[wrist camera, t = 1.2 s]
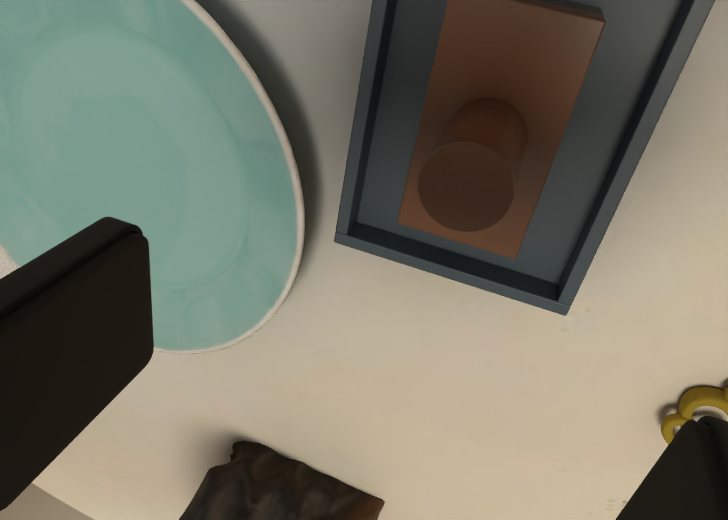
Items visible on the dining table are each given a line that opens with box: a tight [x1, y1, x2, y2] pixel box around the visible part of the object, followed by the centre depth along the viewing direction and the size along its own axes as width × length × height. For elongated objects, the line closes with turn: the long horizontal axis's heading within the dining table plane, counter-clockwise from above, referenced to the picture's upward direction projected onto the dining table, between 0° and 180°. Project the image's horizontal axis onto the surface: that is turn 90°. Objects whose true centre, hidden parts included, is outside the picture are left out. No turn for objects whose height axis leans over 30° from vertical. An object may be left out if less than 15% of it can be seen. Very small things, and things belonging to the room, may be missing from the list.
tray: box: [334, 0, 715, 315], centre depth 23 cm, size 15×11×2 cm
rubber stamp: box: [397, 0, 606, 259], centre depth 19 cm, size 9×5×8 cm, turn 170°
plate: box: [0, 0, 305, 354], centre depth 30 cm, size 22×22×3 cm
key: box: [661, 386, 728, 444], centre depth 29 cm, size 12×1×5 cm
